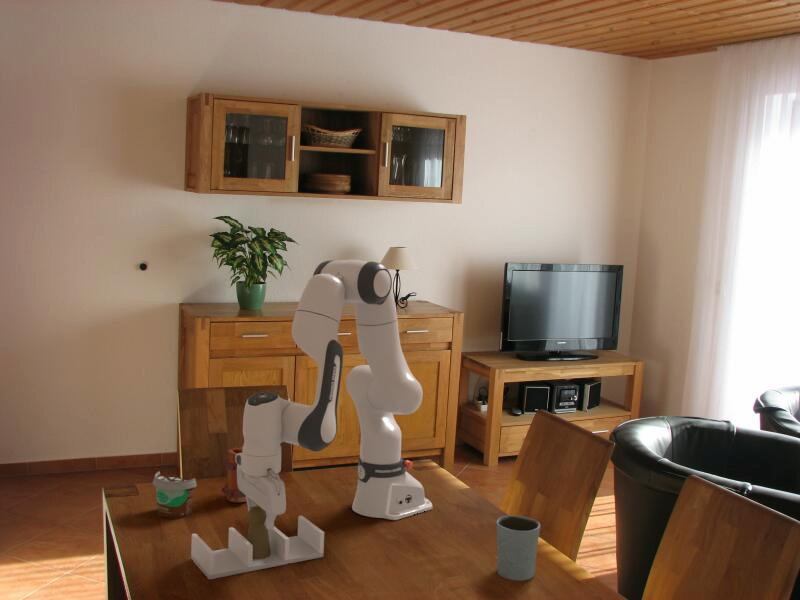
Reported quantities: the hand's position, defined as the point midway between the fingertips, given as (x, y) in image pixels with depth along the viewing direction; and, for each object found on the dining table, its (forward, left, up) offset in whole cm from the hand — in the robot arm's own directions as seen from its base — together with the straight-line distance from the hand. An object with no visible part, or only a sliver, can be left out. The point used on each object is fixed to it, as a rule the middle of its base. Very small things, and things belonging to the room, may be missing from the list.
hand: (260, 520), depth 203 cm
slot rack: (0, 0, -9) cm, 9 cm away
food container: (+10, -35, -9) cm, 38 cm away
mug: (-12, -40, -9) cm, 43 cm away
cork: (+1, 0, -8) cm, 8 cm away
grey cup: (-50, +33, -9) cm, 60 cm away
